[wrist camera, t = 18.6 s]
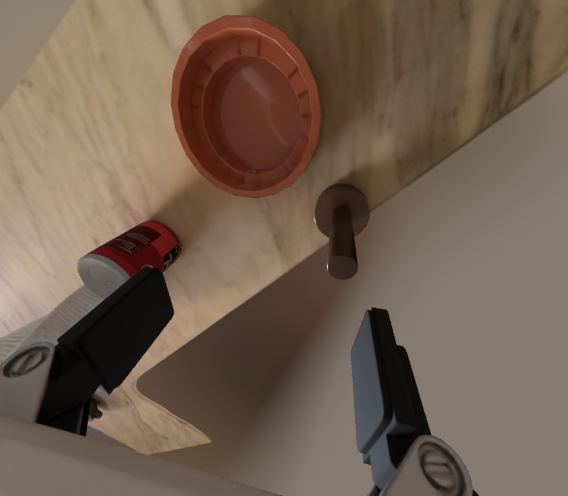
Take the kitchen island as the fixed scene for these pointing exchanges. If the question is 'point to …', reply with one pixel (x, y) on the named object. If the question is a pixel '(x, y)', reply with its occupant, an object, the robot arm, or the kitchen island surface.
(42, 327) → the skyscraper
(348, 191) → the brown coffee tamper
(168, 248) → the canned food
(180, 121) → the bowl
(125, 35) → the kitchen island surface
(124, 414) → the kitchen island surface
